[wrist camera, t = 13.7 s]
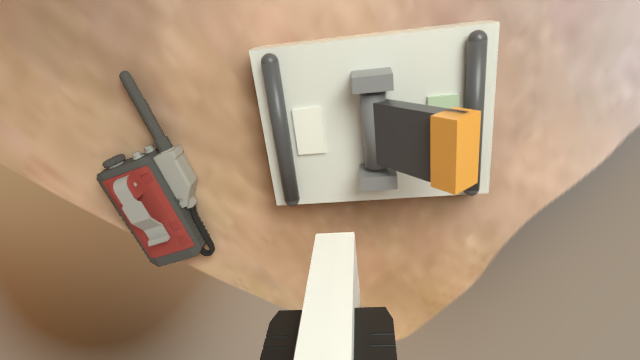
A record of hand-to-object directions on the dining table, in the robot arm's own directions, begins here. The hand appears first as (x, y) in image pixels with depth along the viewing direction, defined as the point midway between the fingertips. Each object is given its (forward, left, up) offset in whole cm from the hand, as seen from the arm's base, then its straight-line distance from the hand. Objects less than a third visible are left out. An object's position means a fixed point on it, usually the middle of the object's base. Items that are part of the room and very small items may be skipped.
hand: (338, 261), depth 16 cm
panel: (0, +2, -22) cm, 22 cm away
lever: (0, +2, -18) cm, 18 cm away
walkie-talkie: (+5, -20, -23) cm, 31 cm away
